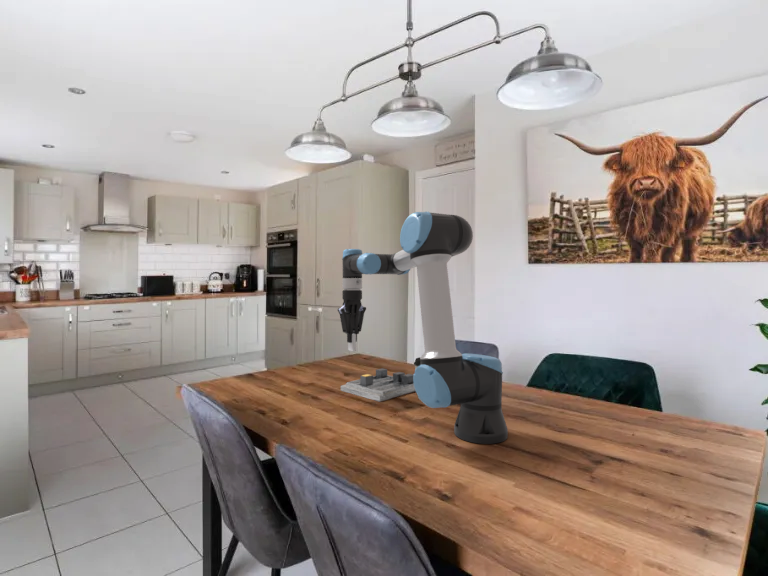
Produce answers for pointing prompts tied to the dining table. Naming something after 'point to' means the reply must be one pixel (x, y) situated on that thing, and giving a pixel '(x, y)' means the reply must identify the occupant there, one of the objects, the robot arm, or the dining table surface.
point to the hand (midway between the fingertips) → (351, 350)
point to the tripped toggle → (366, 380)
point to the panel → (382, 386)
